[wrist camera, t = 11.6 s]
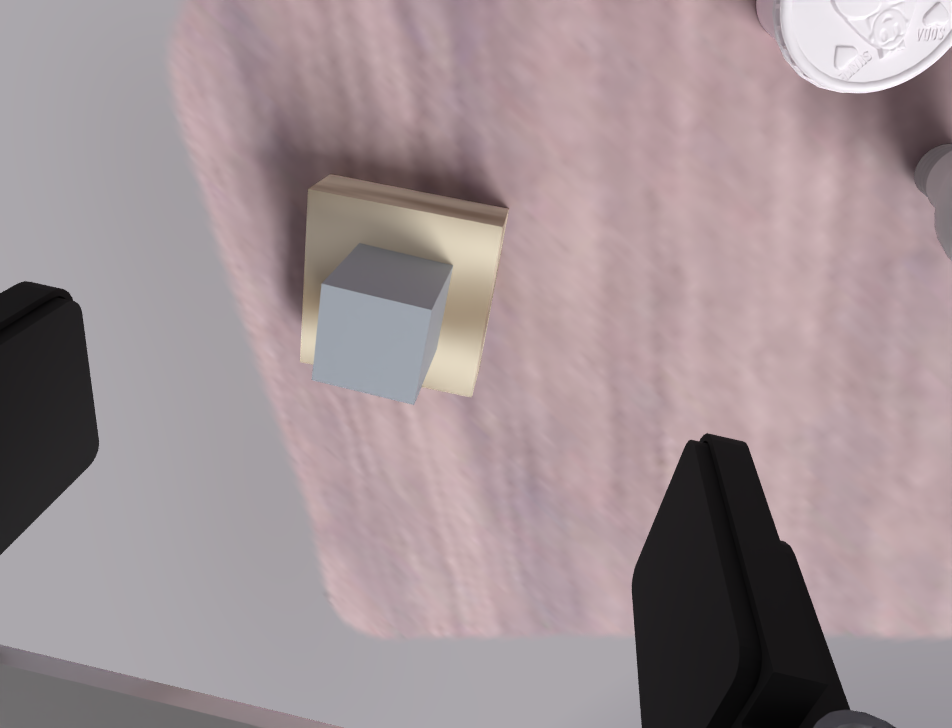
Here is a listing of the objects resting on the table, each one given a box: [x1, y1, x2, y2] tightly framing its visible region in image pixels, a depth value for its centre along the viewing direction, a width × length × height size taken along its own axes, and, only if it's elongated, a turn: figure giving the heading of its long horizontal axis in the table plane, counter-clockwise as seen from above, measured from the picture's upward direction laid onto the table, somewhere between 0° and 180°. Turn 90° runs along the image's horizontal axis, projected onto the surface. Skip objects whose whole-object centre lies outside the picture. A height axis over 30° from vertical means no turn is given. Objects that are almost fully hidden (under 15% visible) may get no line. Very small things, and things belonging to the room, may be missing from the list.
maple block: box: [300, 174, 509, 397], centre depth 39 cm, size 10×10×4 cm
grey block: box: [312, 243, 453, 405], centre depth 34 cm, size 5×5×6 cm
